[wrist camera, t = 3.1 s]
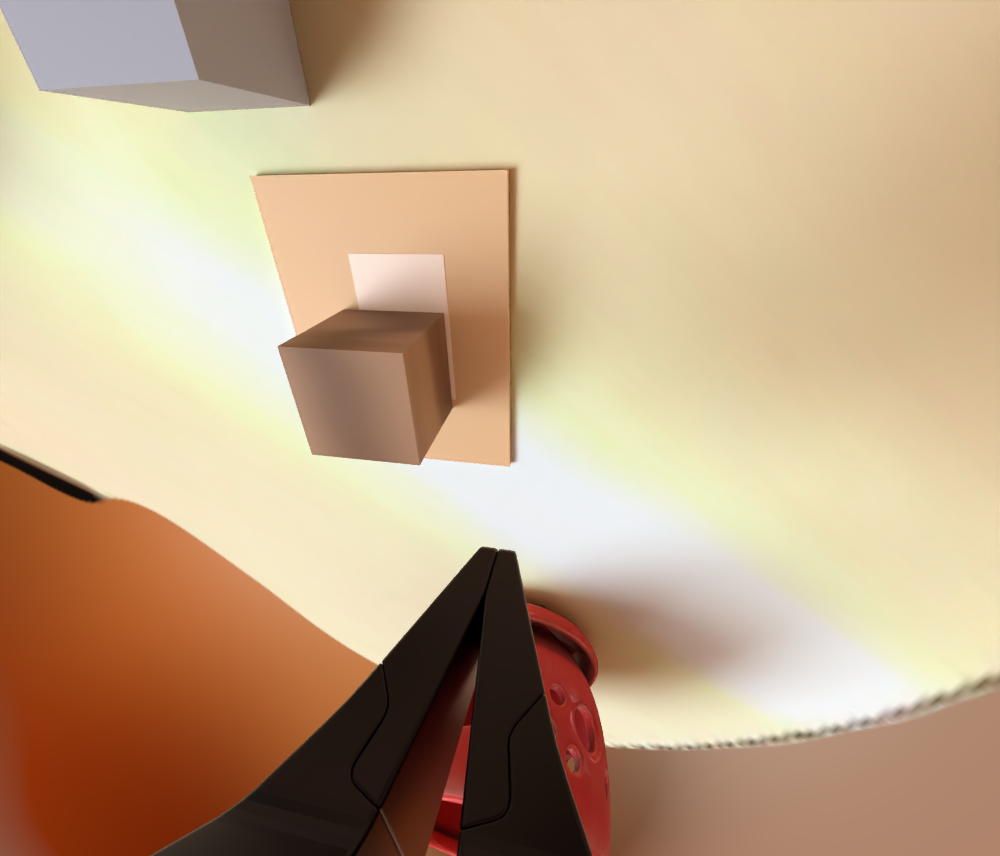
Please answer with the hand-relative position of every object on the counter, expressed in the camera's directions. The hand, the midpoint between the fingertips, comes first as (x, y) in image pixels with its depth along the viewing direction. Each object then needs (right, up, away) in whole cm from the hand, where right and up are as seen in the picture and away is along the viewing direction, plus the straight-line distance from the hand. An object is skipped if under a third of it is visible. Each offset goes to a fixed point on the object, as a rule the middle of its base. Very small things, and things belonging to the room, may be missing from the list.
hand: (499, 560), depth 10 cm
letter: (-5, +8, +11) cm, 14 cm away
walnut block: (-5, +7, +11) cm, 14 cm away
